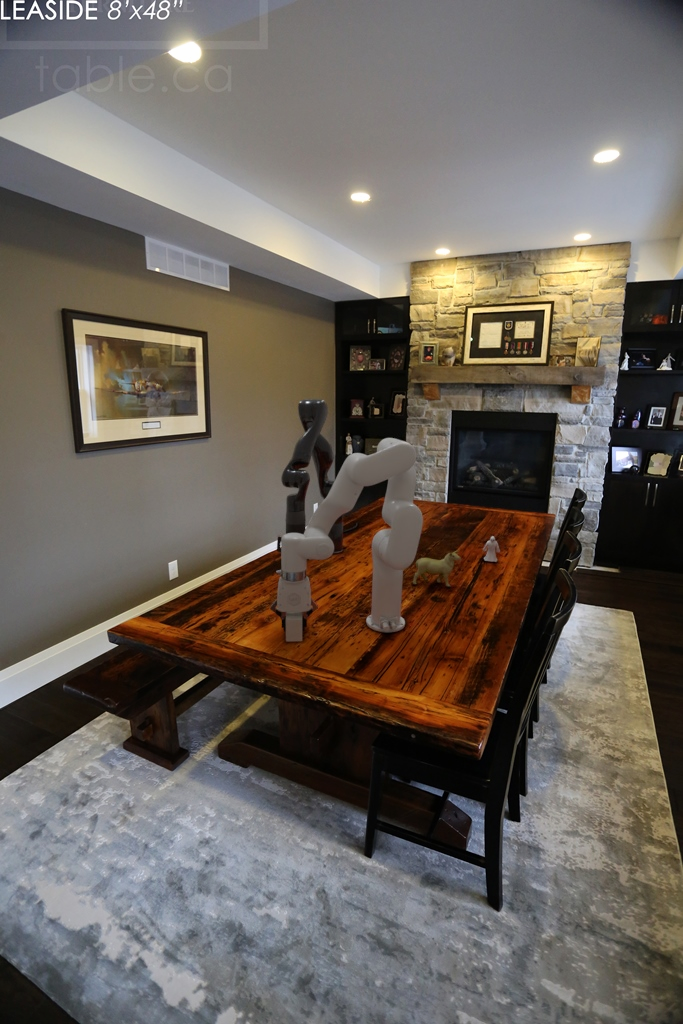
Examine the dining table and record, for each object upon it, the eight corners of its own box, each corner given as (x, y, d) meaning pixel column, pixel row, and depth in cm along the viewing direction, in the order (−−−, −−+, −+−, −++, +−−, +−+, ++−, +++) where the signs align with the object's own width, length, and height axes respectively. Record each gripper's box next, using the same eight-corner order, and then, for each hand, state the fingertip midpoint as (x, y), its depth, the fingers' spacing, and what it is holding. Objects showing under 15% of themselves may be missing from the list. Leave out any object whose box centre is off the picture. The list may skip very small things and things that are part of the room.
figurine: (481, 562, 222) (483, 536, 219) (482, 556, 230) (484, 531, 227) (499, 564, 220) (501, 538, 217) (499, 558, 228) (501, 533, 225)
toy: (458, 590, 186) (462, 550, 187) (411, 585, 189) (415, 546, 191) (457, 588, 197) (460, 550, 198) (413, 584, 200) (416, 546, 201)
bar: (302, 641, 151) (302, 619, 149) (285, 641, 150) (285, 620, 149) (302, 577, 201) (302, 560, 200) (290, 577, 201) (289, 560, 199)
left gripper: (314, 519, 195) (313, 558, 199) (277, 518, 194) (277, 558, 198) (314, 523, 188) (314, 564, 191) (276, 523, 187) (276, 564, 190)
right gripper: (264, 579, 146) (265, 635, 150) (322, 578, 147) (322, 634, 152) (266, 569, 153) (267, 624, 158) (321, 569, 154) (321, 623, 159)
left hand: (295, 561), depth 195 cm, fingers open, 8 cm apart
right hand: (294, 628), depth 155 cm, fingers closed on bar, 5 cm apart
